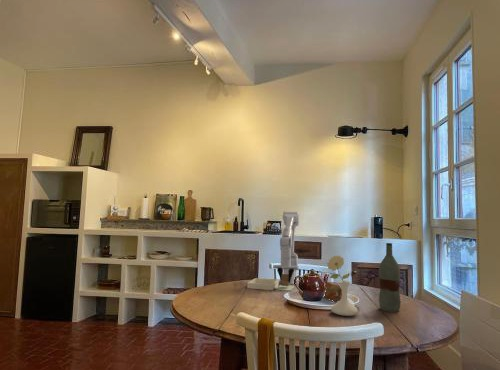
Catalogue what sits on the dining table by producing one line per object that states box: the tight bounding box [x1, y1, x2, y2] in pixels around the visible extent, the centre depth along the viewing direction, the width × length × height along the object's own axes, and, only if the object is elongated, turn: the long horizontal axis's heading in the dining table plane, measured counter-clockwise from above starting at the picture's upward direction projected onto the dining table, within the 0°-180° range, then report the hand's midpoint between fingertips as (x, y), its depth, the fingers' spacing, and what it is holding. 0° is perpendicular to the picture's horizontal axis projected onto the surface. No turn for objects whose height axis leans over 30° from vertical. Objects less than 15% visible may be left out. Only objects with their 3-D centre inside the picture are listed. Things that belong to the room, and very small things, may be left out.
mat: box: [275, 284, 295, 292], centre depth 208 cm, size 12×8×1 cm, turn 163°
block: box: [280, 273, 291, 286], centre depth 208 cm, size 4×4×6 cm
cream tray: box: [246, 277, 280, 291], centre depth 212 cm, size 16×15×3 cm
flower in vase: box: [326, 255, 359, 317], centre depth 158 cm, size 13×11×25 cm
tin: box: [323, 281, 342, 302], centre depth 183 cm, size 15×3×8 cm, turn 25°
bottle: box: [378, 242, 401, 313], centre depth 167 cm, size 9×9×30 cm
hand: (285, 282), depth 208 cm, fingers closed on block, 4 cm apart
